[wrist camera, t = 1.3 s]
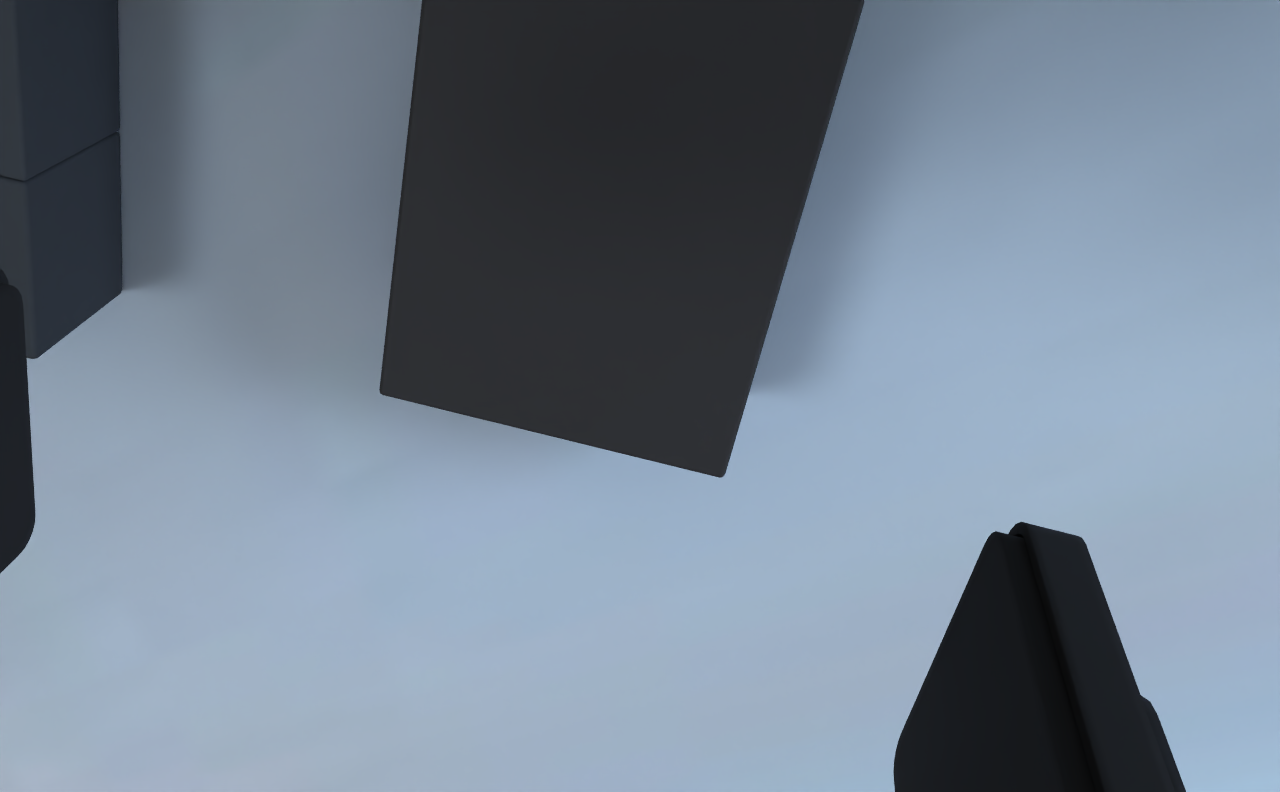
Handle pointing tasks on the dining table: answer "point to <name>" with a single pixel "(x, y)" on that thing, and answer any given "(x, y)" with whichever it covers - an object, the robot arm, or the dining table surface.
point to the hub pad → (60, 162)
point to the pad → (606, 211)
